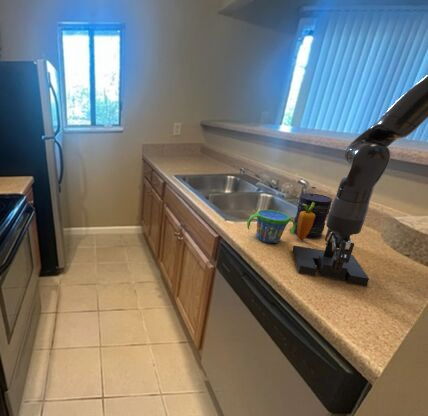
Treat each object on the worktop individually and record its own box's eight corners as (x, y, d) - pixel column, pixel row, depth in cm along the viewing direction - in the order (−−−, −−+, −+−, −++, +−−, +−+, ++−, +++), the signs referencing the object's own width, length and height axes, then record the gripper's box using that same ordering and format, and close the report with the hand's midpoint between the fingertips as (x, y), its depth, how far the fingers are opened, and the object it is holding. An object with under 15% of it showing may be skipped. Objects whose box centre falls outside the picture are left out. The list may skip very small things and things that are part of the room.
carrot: (294, 242, 101) (304, 204, 96) (290, 236, 106) (300, 200, 100) (310, 244, 100) (321, 205, 95) (305, 238, 104) (316, 201, 99)
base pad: (350, 261, 89) (352, 255, 88) (366, 286, 77) (369, 278, 76) (292, 251, 95) (293, 245, 94) (298, 272, 84) (300, 265, 83)
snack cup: (288, 236, 106) (295, 212, 102) (294, 249, 97) (301, 223, 93) (244, 230, 112) (248, 207, 108) (245, 241, 102) (250, 216, 99)
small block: (338, 270, 84) (342, 259, 83) (343, 280, 80) (347, 268, 78) (316, 266, 87) (319, 255, 85) (320, 275, 82) (323, 264, 80)
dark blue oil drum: (327, 239, 103) (341, 194, 96) (298, 237, 105) (310, 193, 98) (313, 228, 112) (325, 186, 106) (287, 227, 114) (297, 185, 107)
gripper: (375, 226, 69) (355, 280, 75) (356, 207, 81) (340, 255, 86) (337, 221, 72) (321, 273, 78) (324, 204, 84) (311, 250, 90)
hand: (331, 263), depth 82 cm, fingers open, 8 cm apart
